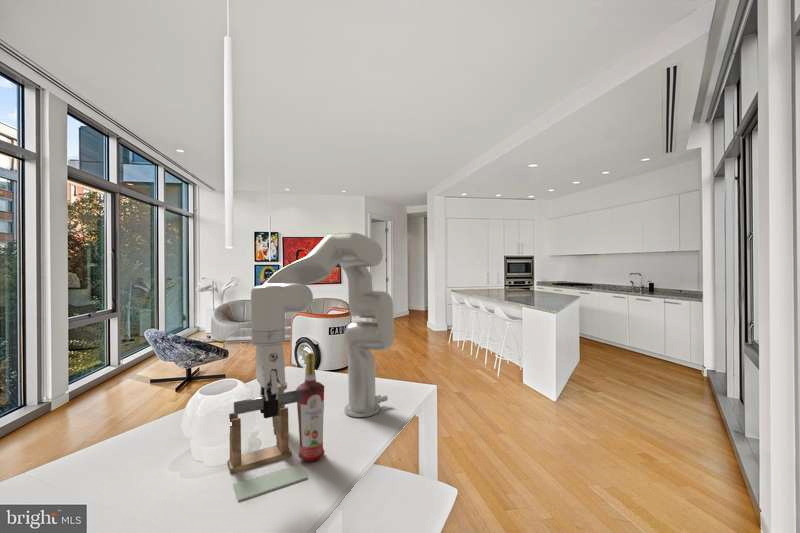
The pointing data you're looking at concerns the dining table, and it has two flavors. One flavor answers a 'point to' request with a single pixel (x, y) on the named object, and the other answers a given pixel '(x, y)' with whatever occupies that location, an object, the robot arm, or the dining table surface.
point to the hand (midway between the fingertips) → (269, 413)
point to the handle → (281, 390)
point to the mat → (269, 482)
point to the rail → (257, 403)
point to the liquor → (311, 414)
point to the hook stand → (262, 455)
